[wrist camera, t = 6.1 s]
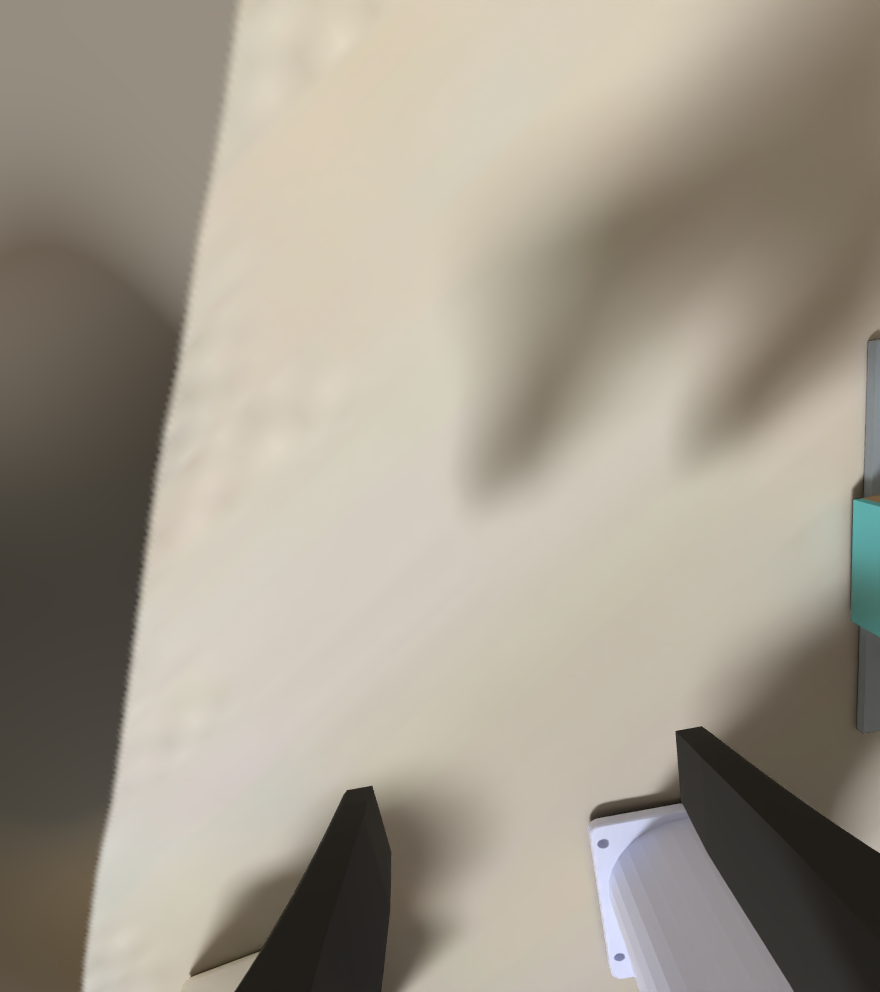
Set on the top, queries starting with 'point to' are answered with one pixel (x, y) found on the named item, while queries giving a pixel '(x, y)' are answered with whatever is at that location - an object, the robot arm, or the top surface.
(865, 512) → the oak block
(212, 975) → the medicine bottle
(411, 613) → the top surface
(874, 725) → the slate mat
